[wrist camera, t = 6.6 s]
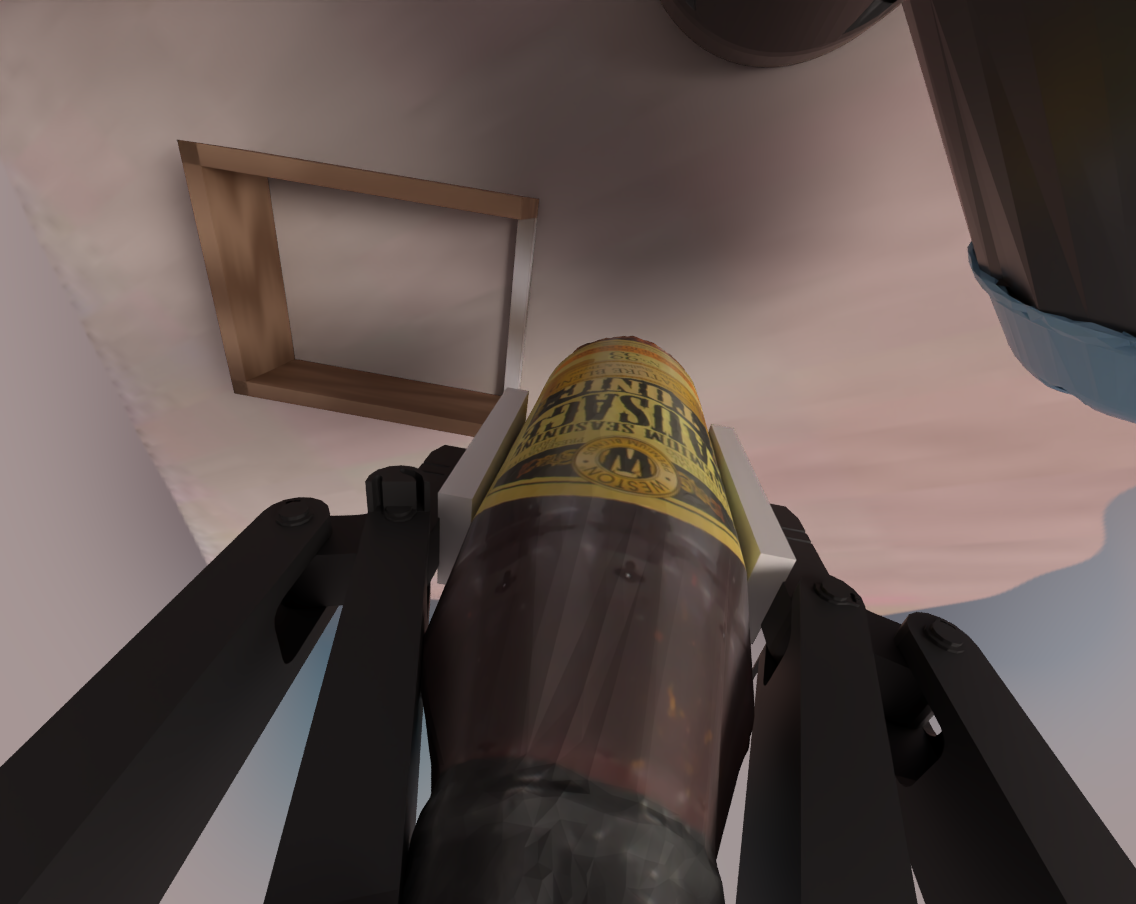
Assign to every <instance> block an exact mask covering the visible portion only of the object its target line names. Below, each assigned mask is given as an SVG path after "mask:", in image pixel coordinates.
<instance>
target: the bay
mask: <svg viewBox="0 0 1136 904" xmlns="http://www.w3.org/2000/svg"><path fill="white" fill-rule="evenodd" d="M177 141H178V146H179V150H180V155H181V159H182V163H183V168H184V172H185V177H186V181H187V185H188V190H189V194H190V199H191V203H192V208H193V212H194V216H195V221H196V225H197V230H198V234H199V239H200V243H201V247H202V252H203V256H204V261H205V265H206V270H207V274H208V278H209V283H210V287H211V292H212V296H213V301H214V305H215V309H216V314H217V318H218V323H219V327H220V332H221V336H222V340H223V345H224V349H225V354H226V358H227V363H228V367H229V371H230V376H231V380H232V385H233V389H234V393H236V394H241V395H247V396H252V397H258V398H263V399H269V400H274V401H280V402H285V403H291V404H296V405H302V406H307V407H313V408H318V409H324V410H329V411H335V412H340V413H346V414H351V415H357V416H362V417H368V418H373V419H379V420H384V421H390V422H395V423H401V424H406V425H412V426H417V427H423V428H428V429H433V430H439V431H444V432H450V433H455V434H461V435H466V436H472V437H475V436H476V434H477V433H478V431H479V429H480V428H481V426H482V425H483V423H484V422H485V420H486V419H487V417H488V416H489V414H490V413H491V411H492V410H493V408H494V407H495V405H496V404H497V402H498V400H499V399H500V397H501V396H498V395H492V394H487V393H481V392H475V391H470V390H464V389H459V388H453V387H448V386H442V385H436V384H431V383H425V382H420V381H414V380H409V379H403V378H397V377H392V376H386V375H381V374H375V373H370V372H364V371H358V370H353V369H347V368H342V367H336V366H331V365H325V364H319V363H314V362H308V361H303V360H297V359H295V356H294V350H293V343H292V337H291V330H290V323H289V317H288V310H287V303H286V297H285V290H284V283H283V277H282V270H281V264H280V257H279V250H278V244H277V237H276V230H275V224H274V217H273V210H272V204H271V197H270V191H269V184H268V177H270V178H276V179H282V180H288V181H294V182H300V183H306V184H312V185H318V186H324V187H330V188H335V189H341V190H347V191H353V192H359V193H365V194H371V195H377V196H383V197H389V198H395V199H400V200H406V201H412V202H418V203H424V204H430V205H436V206H442V207H448V208H454V209H460V210H465V211H471V212H477V213H483V214H489V215H495V216H501V217H507V218H513V219H518V225H517V237H516V249H515V261H514V274H513V286H512V298H511V310H510V322H509V334H508V346H507V358H506V371H505V383H504V391H505V390H506V388H507V387H509V388H515V389H520V383H521V373H522V363H523V353H524V343H525V333H526V323H527V313H528V304H529V294H530V284H531V274H532V264H533V254H534V244H535V234H536V224H537V214H538V204H539V199H535V198H529V197H523V196H517V195H511V194H505V193H499V192H494V191H488V190H482V189H476V188H470V187H464V186H458V185H452V184H446V183H440V182H434V181H428V180H422V179H416V178H410V177H404V176H398V175H392V174H386V173H380V172H374V171H368V170H362V169H357V168H351V167H345V166H339V165H333V164H327V163H321V162H315V161H309V160H303V159H297V158H291V157H285V156H279V155H273V154H267V153H261V152H255V151H249V150H243V149H236V148H229V147H223V146H216V145H209V144H203V143H196V142H189V141H183V140H177Z"/></svg>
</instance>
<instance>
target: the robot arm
mask: <svg viewBox="0 0 1136 904" xmlns="http://www.w3.org/2000/svg"><path fill="white" fill-rule="evenodd" d="M660 2H661V3H662V5H663V7H664V8H665V10H666V11H667V12H668V14H669V15H670V17H671V18H672V19H673V21H674V22H675V23H676V24H677V25H678V27H679V28H680V29H681V30H682V31H683V32H684V33H685V34H686V35H687V36H688V37H689V38H691V39H692V40H693V41H694V42H695V43H697V44H698V45H699V46H701V47H702V48H704V49H705V50H707V51H709V52H710V53H712V54H714V55H716V56H718V57H720V58H723V59H725V60H728V61H731V62H734V63H737V64H742V65H747V66H755V67H779V66H787V65H793V64H797V63H801V62H805V61H808V60H811V59H814V58H817V57H820V56H822V55H824V54H827V53H829V52H831V51H833V50H835V49H837V48H839V47H841V46H843V45H844V44H846V43H848V42H849V41H851V40H853V39H854V38H856V37H857V36H859V35H860V34H862V33H863V32H864V31H866V30H867V29H869V28H870V27H871V26H873V25H874V24H875V23H877V22H878V21H880V20H881V19H882V18H884V17H885V16H886V15H888V14H889V13H890V12H891V11H893V10H894V9H895V8H896V7H898V6H899V5H900V4H901V3H902V6H903V9H904V12H905V16H906V19H907V23H908V26H909V29H910V33H911V36H912V39H913V43H914V46H915V50H916V53H917V56H918V60H919V63H920V67H921V70H922V73H923V77H924V80H925V84H926V87H927V90H928V94H929V97H930V101H931V104H932V107H933V111H934V114H935V118H936V121H937V124H938V128H939V131H940V134H941V138H942V141H943V145H944V148H945V151H946V155H947V158H948V162H949V165H950V168H951V172H952V175H953V179H954V182H955V185H956V189H957V192H958V196H959V199H960V202H961V206H962V209H963V212H964V216H965V219H966V223H967V226H968V229H969V233H970V236H971V240H972V241H971V243H970V244H969V246H968V247H967V248H968V258H969V263H970V266H971V269H972V271H973V273H974V276H975V278H976V280H977V281H978V283H979V284H980V285H981V287H982V288H983V289H984V290H985V291H986V292H987V293H988V294H989V296H990V298H991V301H992V303H993V306H994V308H995V311H996V313H997V316H998V318H999V321H1000V323H1001V326H1002V328H1003V331H1004V334H1005V336H1006V339H1007V342H1008V345H1009V346H1010V348H1011V350H1012V352H1013V353H1014V355H1015V357H1016V358H1017V359H1018V360H1019V361H1020V363H1021V364H1022V365H1023V367H1025V368H1026V369H1027V370H1028V371H1029V372H1030V373H1031V374H1032V375H1033V376H1034V377H1036V378H1037V379H1038V380H1039V381H1041V382H1042V383H1044V384H1045V385H1046V386H1048V387H1050V388H1052V389H1055V390H1057V391H1060V392H1063V393H1067V394H1071V395H1074V396H1075V397H1077V398H1078V399H1080V400H1081V401H1082V402H1083V403H1084V404H1085V405H1088V406H1090V407H1091V408H1092V409H1094V410H1096V411H1099V412H1101V413H1104V414H1106V415H1109V416H1112V417H1115V418H1119V419H1122V420H1125V421H1129V422H1132V423H1136V0H660ZM528 394H529V391H526V390H520V389H515V388H509V387H507V388H506V390H505V391H504V393H503V394H502V396H501V397H500V399H499V400H498V402H497V404H496V405H495V407H494V408H493V410H492V411H491V413H490V414H489V416H488V417H487V419H486V420H485V422H484V423H483V425H482V426H481V428H480V429H479V431H478V433H477V434H476V436H475V437H474V439H473V440H472V442H471V443H470V445H469V446H468V448H467V449H465V448H459V447H454V446H448V445H444V446H442V447H440V448H438V449H436V450H434V451H432V452H431V453H430V454H429V456H428V457H427V458H426V460H425V461H424V463H422V465H421V466H420V467H419V468H415V467H411V466H402V465H400V466H389V467H386V468H382V469H379V470H377V471H375V472H374V473H372V474H370V475H369V477H368V478H367V480H366V481H365V484H366V496H367V507H368V513H367V514H362V515H345V516H330V512H329V508H328V505H327V504H325V503H324V502H323V501H321V500H318V499H314V498H305V497H298V498H292V499H287V500H283V501H281V502H278V503H276V504H273V505H271V506H270V507H269V508H267V509H266V510H264V511H263V512H262V513H261V514H260V515H259V516H258V517H257V518H256V519H255V520H254V521H253V522H252V523H251V524H250V525H249V526H248V527H247V528H246V529H244V530H243V531H242V532H241V533H240V534H239V535H238V536H237V537H236V538H235V539H234V540H233V541H232V542H231V543H230V544H229V545H228V546H227V547H226V548H225V549H224V550H223V551H222V552H221V553H220V554H219V555H218V556H217V557H216V558H215V559H214V560H213V561H212V562H211V563H210V564H209V565H208V566H206V568H204V569H203V570H202V571H201V572H200V573H199V575H197V576H196V577H195V578H194V579H193V580H192V581H191V582H190V583H189V584H188V585H187V586H186V587H185V588H184V589H183V590H182V591H181V592H180V593H179V594H178V595H177V596H176V597H175V598H174V599H173V600H172V601H171V602H169V604H167V606H165V607H164V608H163V609H162V610H161V611H160V612H159V613H158V614H157V615H156V616H155V617H154V618H153V619H152V620H151V621H150V622H149V623H148V624H147V625H146V626H145V627H144V628H143V629H142V630H141V631H140V632H139V633H138V634H137V635H136V636H135V637H134V638H133V639H131V640H130V641H129V642H128V643H127V644H126V645H125V646H124V647H123V648H122V649H121V650H120V651H119V652H118V653H117V654H116V655H115V656H114V657H113V658H112V659H111V660H110V661H109V662H108V663H107V664H106V665H105V666H104V667H103V668H102V669H101V670H100V671H99V672H98V673H97V674H96V675H94V677H92V678H91V679H90V680H89V681H88V682H87V683H86V684H85V685H84V686H83V687H82V688H81V689H80V690H79V691H78V692H77V693H76V694H75V695H74V696H73V697H72V698H71V699H70V700H69V701H68V702H67V703H66V704H65V705H64V706H63V707H62V708H61V709H60V710H59V711H57V712H56V713H55V714H54V716H53V717H51V718H50V719H49V720H48V721H47V722H46V723H45V724H44V725H43V726H42V727H41V728H40V729H39V730H38V731H37V732H36V733H35V734H34V735H33V736H32V737H31V738H30V739H29V740H28V741H27V742H26V743H25V744H24V745H23V746H22V747H21V748H19V750H18V751H16V753H14V754H13V755H12V756H11V757H10V758H9V759H8V760H7V761H6V762H5V763H4V764H3V765H2V766H1V767H0V904H159V903H160V901H161V899H162V898H163V896H164V894H165V893H166V891H167V889H168V888H169V886H170V884H171V883H172V881H173V880H174V878H175V876H176V874H177V873H178V871H179V870H180V868H181V866H182V865H183V863H184V861H185V859H186V858H187V856H188V855H189V853H190V851H191V850H192V848H193V846H194V845H195V843H196V841H197V840H198V838H199V836H200V835H201V833H202V831H203V830H204V828H205V827H206V825H207V823H208V821H209V820H210V818H211V817H212V815H213V813H214V812H215V810H216V808H217V807H218V805H219V803H220V802H221V800H222V798H223V797H224V795H225V793H226V792H227V790H228V788H229V787H230V785H231V783H232V782H233V780H234V778H235V777H236V775H237V774H238V771H239V770H240V769H241V767H242V765H243V764H244V762H245V760H246V759H247V757H248V755H249V754H250V752H251V750H252V748H253V747H254V745H255V744H256V742H257V740H258V738H259V737H260V735H261V734H262V732H263V731H264V729H265V727H266V725H267V724H268V722H269V721H270V719H271V717H272V716H273V714H274V712H275V711H276V709H277V707H278V706H279V704H280V702H281V701H282V699H283V697H284V696H285V694H286V692H287V691H288V689H289V687H290V686H291V684H292V683H293V681H294V679H295V677H296V676H297V674H298V673H299V671H300V669H301V667H302V666H303V664H304V663H305V661H306V659H307V658H308V656H309V654H310V653H311V651H312V649H313V648H314V646H315V644H316V643H317V641H318V639H319V638H320V636H321V634H322V633H323V631H324V629H325V628H326V626H327V624H328V623H329V621H330V620H331V618H332V616H333V615H334V613H335V611H336V609H337V608H338V606H339V605H343V608H342V611H341V615H340V619H339V623H338V626H337V630H336V634H335V638H334V641H333V645H332V649H331V653H330V657H329V660H328V664H327V668H326V671H325V675H324V679H323V683H322V686H321V690H320V694H319V698H318V701H317V705H316V709H315V712H314V716H313V720H312V724H311V728H310V731H309V735H308V739H307V742H306V746H305V750H304V754H303V758H302V761H301V765H300V769H299V772H298V777H297V780H296V784H295V787H294V791H293V795H292V799H291V802H290V806H289V810H288V814H287V817H286V821H285V825H284V829H283V833H282V836H281V840H280V843H279V847H278V851H277V855H276V859H275V862H274V866H273V870H272V874H271V878H270V881H269V885H268V889H267V892H266V896H265V900H264V903H263V904H402V895H403V889H404V884H405V878H406V870H407V865H408V858H409V846H410V841H411V837H412V833H413V831H414V828H415V824H416V809H417V808H416V807H417V793H418V778H419V763H420V746H421V732H422V716H423V702H422V696H421V689H420V688H421V665H422V651H423V640H424V635H425V632H426V630H427V628H428V625H429V609H430V594H431V593H430V581H431V579H432V578H433V576H434V574H435V572H436V570H437V568H438V582H437V583H439V584H444V585H446V583H447V580H448V578H449V575H450V573H451V571H452V568H453V566H454V563H455V561H456V558H457V556H458V553H459V551H460V549H461V546H462V544H463V541H464V539H465V536H466V534H467V532H468V529H469V527H470V524H471V522H472V520H473V518H474V516H475V514H476V513H477V511H478V509H479V507H480V505H481V503H482V502H483V500H484V498H485V496H486V494H487V493H488V491H489V489H490V487H491V485H492V483H493V482H494V480H495V478H496V476H497V474H498V473H499V471H500V469H501V467H502V465H503V464H504V462H505V460H506V458H507V456H508V454H509V452H510V450H511V448H512V446H513V444H514V442H515V440H516V438H517V436H518V434H519V433H520V431H521V429H522V427H523V426H524V424H525V422H526V413H527V404H528ZM708 433H709V437H710V441H711V444H712V447H713V451H714V455H715V459H716V462H717V466H718V469H719V472H720V476H721V480H722V483H723V485H724V490H725V494H726V498H727V502H728V505H729V509H730V512H731V516H732V519H733V523H734V526H735V530H736V531H737V536H738V540H739V544H740V548H741V552H742V556H743V560H744V564H745V568H746V572H747V589H748V607H749V624H750V641H751V644H753V642H754V641H755V639H756V637H757V635H758V633H759V631H760V629H761V628H762V631H763V634H764V637H765V640H766V644H765V646H764V648H763V650H762V652H761V653H760V655H759V657H758V659H757V661H756V663H755V665H754V667H753V668H752V674H753V679H754V677H755V675H756V674H757V673H758V675H757V685H756V697H755V706H754V715H755V717H754V723H753V728H752V738H751V748H750V760H749V770H748V780H747V791H746V801H745V811H744V822H743V833H742V843H741V853H740V864H739V865H740V866H739V875H738V885H737V895H736V904H917V898H916V893H915V887H914V882H913V875H912V870H911V866H912V869H913V872H914V874H915V877H916V880H917V882H918V885H919V888H920V890H921V893H922V896H923V899H924V901H925V904H1136V868H1135V867H1134V865H1133V864H1132V862H1131V861H1130V860H1129V858H1128V857H1127V855H1126V854H1125V853H1124V851H1123V850H1122V848H1121V847H1120V846H1119V844H1118V843H1117V841H1116V840H1115V839H1114V837H1113V836H1112V834H1111V833H1110V832H1109V830H1108V829H1107V827H1106V826H1105V825H1104V823H1103V822H1102V820H1101V819H1100V817H1099V816H1098V815H1097V813H1096V812H1095V810H1094V809H1093V808H1092V806H1091V805H1090V803H1089V802H1088V801H1087V799H1086V798H1085V796H1084V795H1083V794H1082V792H1081V791H1080V789H1079V788H1078V787H1077V785H1076V784H1075V782H1074V781H1073V780H1072V778H1071V777H1070V775H1069V774H1068V772H1067V771H1066V770H1065V768H1064V767H1063V765H1062V764H1061V763H1060V761H1059V760H1058V758H1057V757H1056V756H1055V754H1054V753H1053V751H1052V750H1051V749H1050V747H1049V746H1048V744H1047V743H1046V742H1045V740H1044V739H1043V737H1042V736H1041V735H1040V733H1039V732H1038V730H1037V729H1036V727H1035V726H1034V725H1033V723H1032V722H1031V721H1030V719H1029V718H1028V716H1027V715H1026V713H1025V712H1024V711H1023V709H1022V708H1021V706H1020V705H1019V704H1018V702H1017V701H1016V699H1015V698H1014V697H1013V695H1012V694H1011V692H1010V691H1009V689H1008V688H1007V687H1006V685H1005V684H1004V682H1003V681H1002V680H1001V678H1000V677H999V676H998V674H997V673H996V671H995V670H994V669H993V667H992V666H991V664H990V663H989V661H988V660H987V659H986V657H985V656H984V655H983V653H982V652H981V650H980V649H979V647H978V646H977V645H976V644H975V643H974V642H973V641H972V639H971V638H970V637H969V636H968V635H967V634H965V633H964V632H963V631H961V630H960V629H959V628H958V627H957V626H955V625H954V624H952V623H950V622H947V621H946V620H944V619H941V618H940V617H937V616H934V615H931V614H929V613H922V612H921V613H920V612H915V613H912V614H909V615H908V617H907V618H906V619H905V621H904V622H903V623H902V624H899V623H897V622H894V621H892V620H890V619H887V618H885V617H882V616H880V615H877V614H875V613H872V612H870V611H868V610H866V608H865V605H864V603H863V600H862V598H861V597H860V596H859V595H858V594H857V592H856V591H855V590H854V589H853V588H851V587H850V586H849V585H847V584H846V583H845V582H843V581H841V580H839V579H837V578H835V577H833V576H831V575H829V574H828V572H827V570H826V568H825V566H824V564H823V563H822V561H821V559H820V557H819V555H818V553H817V552H816V550H815V548H814V546H813V544H811V541H810V539H809V537H808V535H807V534H806V533H805V530H804V528H803V526H802V524H801V522H800V520H799V519H798V518H797V517H796V516H795V515H794V514H793V513H792V512H791V511H790V510H789V509H788V508H786V507H785V506H780V505H774V504H769V501H768V499H767V497H766V495H765V493H764V491H763V489H762V487H761V485H760V483H759V480H758V478H757V476H756V474H755V472H754V470H753V468H752V466H751V464H750V462H749V459H748V457H747V455H746V453H745V451H744V449H743V447H742V445H741V443H740V441H739V438H738V436H737V434H736V432H735V430H734V428H731V427H726V426H720V425H715V424H711V426H710V429H709V432H708ZM933 715H935V717H936V719H937V721H938V723H939V725H940V727H941V730H942V732H941V733H940V734H938V735H936V733H935V732H934V730H933V729H932V727H931V725H930V723H929V720H930V719H931V717H933Z"/></svg>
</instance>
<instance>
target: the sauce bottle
mask: <svg viewBox="0 0 1136 904" xmlns="http://www.w3.org/2000/svg"><path fill="white" fill-rule="evenodd" d="M420 689H421V696H422V702H423V707H424V713H425V719H426V728H427V736H428V744H429V752H430V759H431V796H430V798H429V800H428V802H427V803H426V805H425V806H424V808H423V809H422V811H421V813H420V815H419V818H418V820H417V823H416V826H415V828H414V831H413V833H412V837H411V841H410V846H409V858H408V865H407V870H406V878H405V884H404V889H403V895H402V904H725V900H724V892H723V885H722V881H721V877H720V874H719V871H718V868H717V863H716V859H717V855H718V851H719V847H720V843H721V839H722V835H723V831H724V827H725V824H726V819H727V816H728V812H729V808H730V805H731V801H732V797H733V793H734V789H735V785H736V781H737V777H738V773H739V770H740V767H741V765H742V762H743V759H744V757H745V755H746V753H747V751H748V748H749V744H750V743H749V742H750V735H751V732H752V728H753V723H754V717H755V715H754V690H753V674H752V659H751V641H750V624H749V607H748V589H747V572H746V568H745V564H744V560H743V556H742V552H741V548H740V544H739V540H738V536H737V531H736V530H735V526H734V523H733V519H732V516H731V512H730V509H729V505H728V502H727V498H726V494H725V490H724V485H723V483H722V480H721V476H720V472H719V469H718V466H717V462H716V459H715V455H714V451H713V447H712V444H711V441H710V437H709V433H708V430H707V426H706V423H705V419H704V415H703V412H702V408H701V404H700V401H699V398H698V395H697V392H696V389H695V386H694V384H693V382H692V380H691V378H690V377H689V375H688V374H687V373H686V372H685V370H684V368H683V367H682V366H681V365H680V364H679V363H678V362H677V361H676V360H675V359H674V358H673V357H672V356H671V355H670V354H668V353H667V352H665V351H664V350H662V349H661V348H660V347H658V346H657V345H656V344H654V343H652V342H649V341H645V340H642V339H639V338H637V337H635V336H628V337H626V336H622V337H613V338H605V339H601V340H597V341H595V342H592V343H587V344H585V345H582V346H580V347H578V348H577V349H576V350H575V351H574V352H573V354H571V355H569V356H568V357H567V358H566V359H565V360H563V361H562V362H561V363H560V364H559V365H558V366H557V367H556V368H555V370H554V371H553V373H552V374H551V376H550V377H549V379H548V381H547V383H546V385H545V386H544V388H543V390H542V392H541V394H540V396H539V398H538V400H537V402H536V404H535V406H534V408H533V409H532V411H531V413H530V415H529V417H528V419H527V420H526V422H525V424H524V426H523V427H522V429H521V431H520V433H519V434H518V436H517V438H516V440H515V442H514V444H513V446H512V448H511V450H510V452H509V454H508V456H507V458H506V460H505V462H504V464H503V465H502V467H501V469H500V471H499V473H498V474H497V476H496V478H495V480H494V482H493V483H492V485H491V487H490V489H489V491H488V493H487V494H486V496H485V498H484V500H483V502H482V503H481V505H480V507H479V509H478V511H477V513H476V514H475V516H474V518H473V520H472V522H471V524H470V527H469V529H468V532H467V534H466V536H465V539H464V541H463V544H462V546H461V549H460V551H459V553H458V556H457V558H456V561H455V563H454V566H453V568H452V571H451V573H450V575H449V578H448V580H447V583H446V585H445V587H444V590H443V592H442V595H441V597H440V599H439V602H438V604H437V607H436V609H435V611H434V614H433V616H432V618H431V621H430V623H429V625H428V628H427V630H426V632H425V635H424V640H423V651H422V665H421V688H420Z"/></svg>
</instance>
